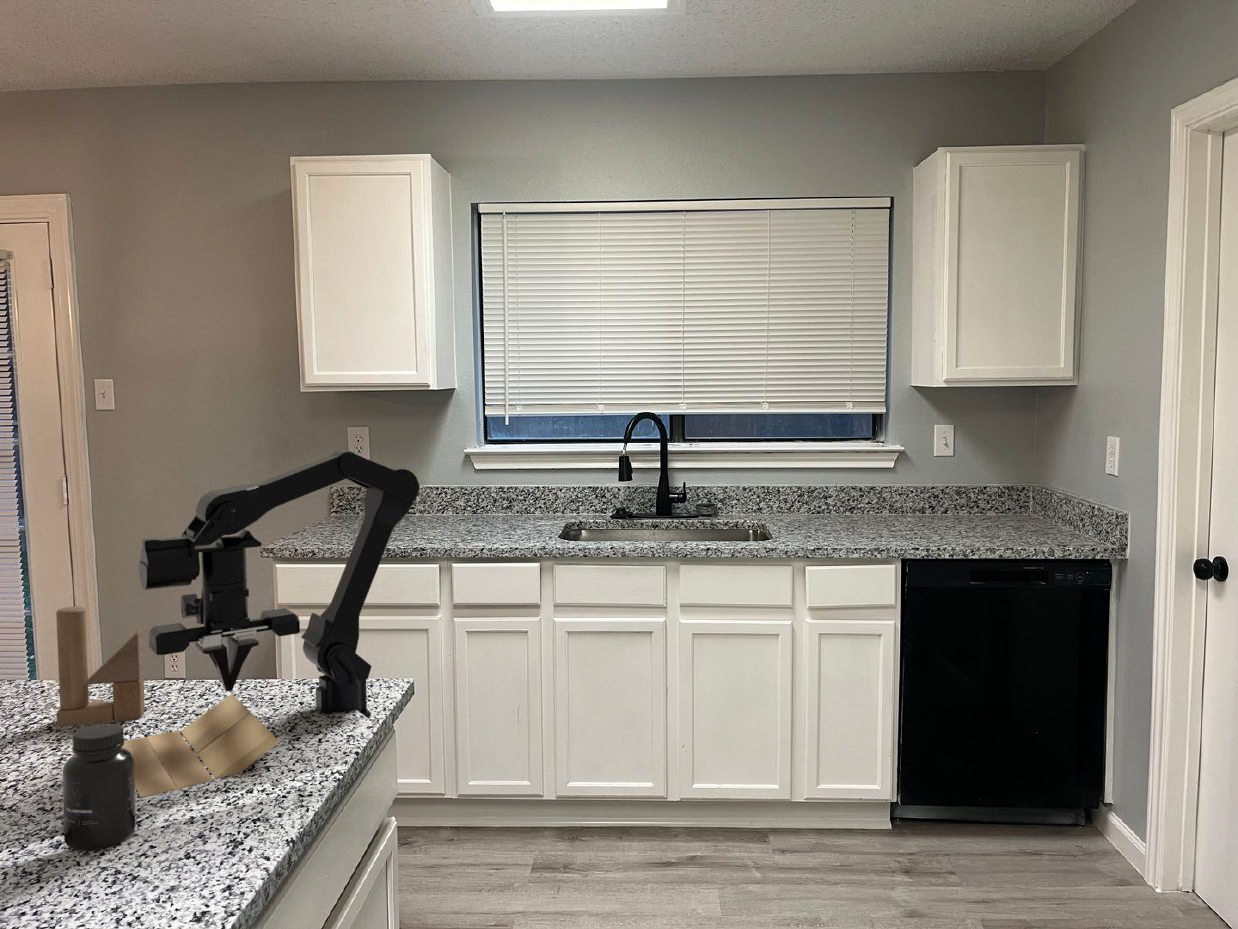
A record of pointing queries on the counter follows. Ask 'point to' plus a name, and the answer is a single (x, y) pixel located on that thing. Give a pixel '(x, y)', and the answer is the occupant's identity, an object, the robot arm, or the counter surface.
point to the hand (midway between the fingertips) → (228, 690)
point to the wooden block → (96, 675)
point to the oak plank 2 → (238, 747)
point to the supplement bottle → (98, 789)
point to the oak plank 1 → (215, 723)
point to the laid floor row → (165, 764)
